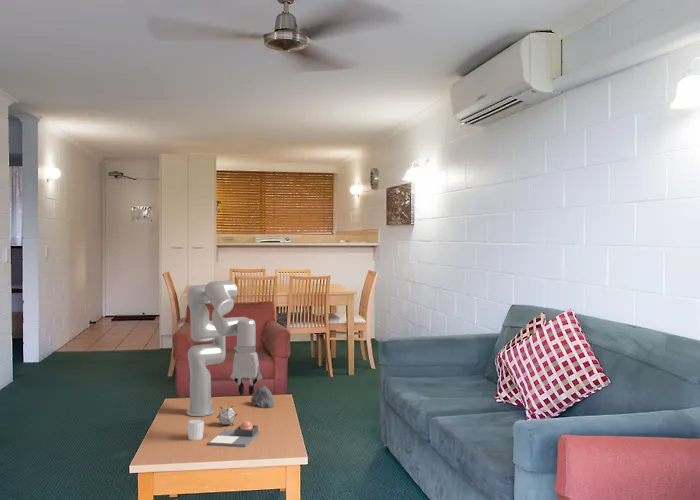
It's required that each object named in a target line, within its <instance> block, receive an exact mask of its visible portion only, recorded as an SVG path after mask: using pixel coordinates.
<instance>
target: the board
mask: <svg viewBox="0 0 700 500" xmlns="http://www.w3.org/2000/svg"><path fill="white" fill-rule="evenodd" d="M252 425H253V424H252ZM240 426H241V424H240V425H239V426H237V427H236V428H235V429H226V428H225V429H223V430H222V431H220V432H219V433H218V434H217V435H216V436H214V437H213V438H211V440H209V441H208V444H207V445H208V446H220V447H238V448H246V447H247V446H248V445H249V444H250V443H251V442H252V441H253V440H255V438H257V436H258V435H259V434H260V431H259V426H258V425H253V429H252V430H240Z"/></svg>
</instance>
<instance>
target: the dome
mask: <svg viewBox="0 0 700 500" xmlns="http://www.w3.org/2000/svg"><path fill="white" fill-rule="evenodd" d="M240 425H241V426H240ZM240 425H239V426H240V430H252V429H253V424H252V422H251V421H249V420H244V421H242V422H241V424H240Z"/></svg>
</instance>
